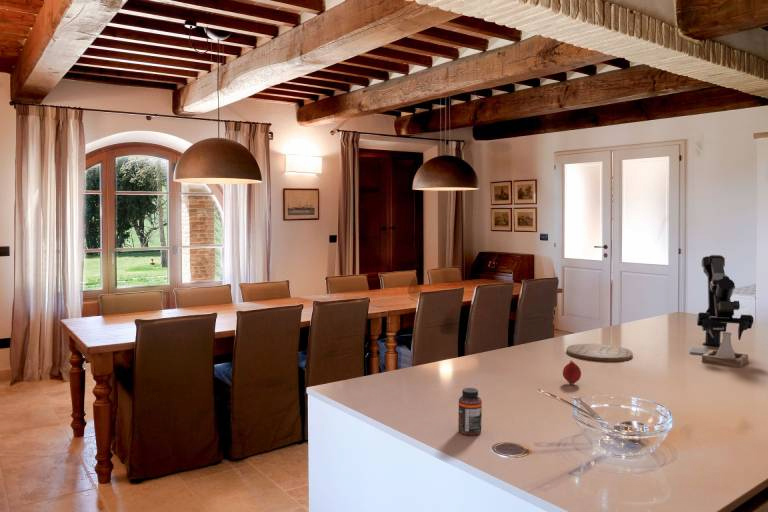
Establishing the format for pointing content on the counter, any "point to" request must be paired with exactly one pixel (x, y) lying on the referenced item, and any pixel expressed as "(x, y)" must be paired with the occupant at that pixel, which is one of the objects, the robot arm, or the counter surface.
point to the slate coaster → (699, 351)
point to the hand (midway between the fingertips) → (726, 338)
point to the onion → (571, 372)
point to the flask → (726, 347)
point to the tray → (725, 359)
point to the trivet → (599, 352)
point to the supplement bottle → (470, 412)
